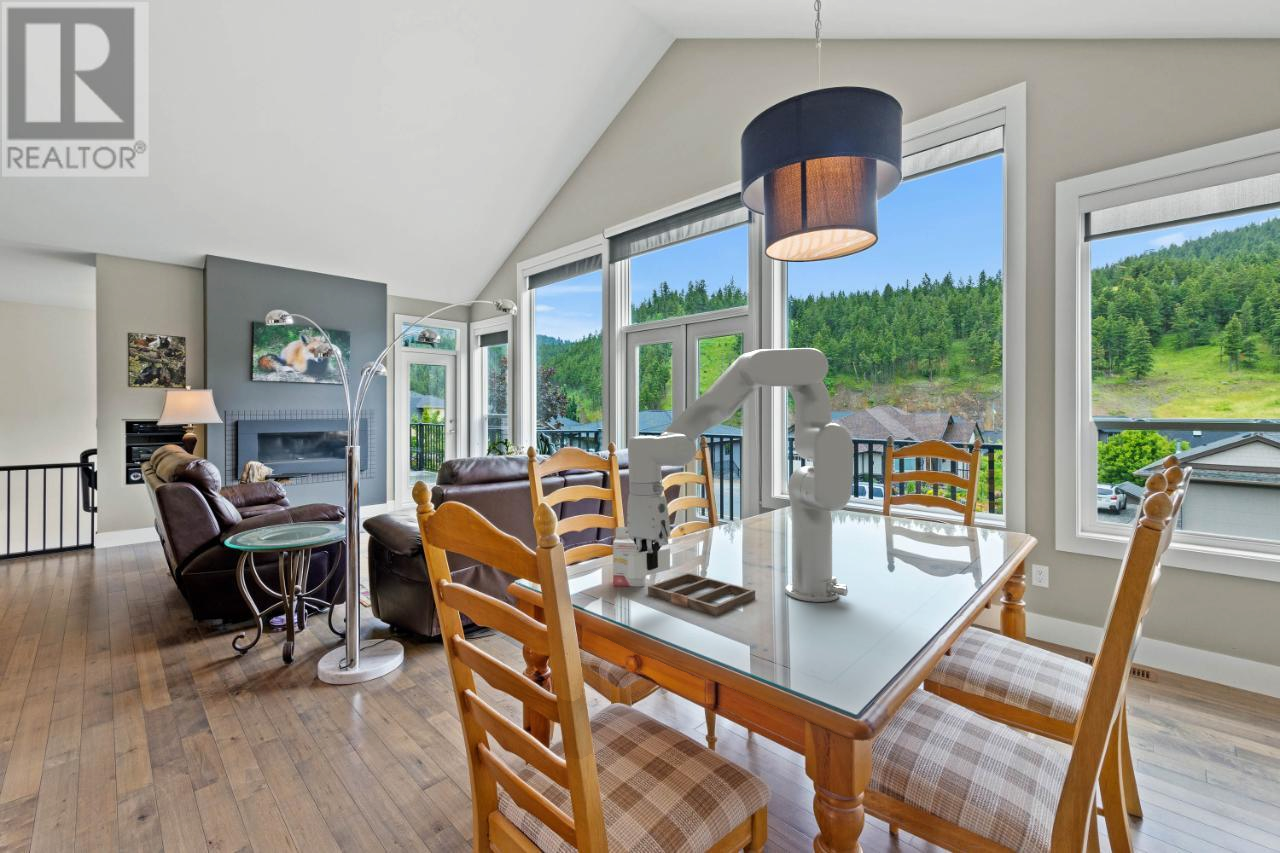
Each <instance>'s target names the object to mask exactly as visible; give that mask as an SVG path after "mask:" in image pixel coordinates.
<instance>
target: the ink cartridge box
mask: <svg viewBox="0 0 1280 853" xmlns="http://www.w3.org/2000/svg"><path fill="white" fill-rule="evenodd" d="M626 532H628V529H627V526H616V527H615V538H614V540H613V542H612V543H613V544H612V584H613V585H614V586H617V587H641V586H644V587H646V583H647V575H646V576H643V577H639V578H635V579H633V578H629V577H628V555H630V554H634V553H639V551H638V550H637V546H636V544H635V543H634V541H633V540H631V539H630V538H629V537H628V535H629V533H626ZM613 585H612V586H613Z"/></svg>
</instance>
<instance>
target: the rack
mask: <svg viewBox="0 0 1280 853" xmlns="http://www.w3.org/2000/svg"><path fill="white" fill-rule="evenodd" d="M687 582H690V583H691V584H688V585H685V586H683V587H679V588H677V589H674V590H671V591H669V590H667V589H670V588H674V587H677V586H680V585H682V584H685V583H687ZM665 589H666V590H665ZM728 594H733V595H736V596H734V597H731V598H729V599H727V600H724V601H722V602H719V603H717V604H712V603H709V602H711V601H714V600H717V599H719V598H722V597H725V596H726V595H728ZM647 595H648V596H652V597H656V598H659V599H662V600H665V601H668V602H670V603H672V604H676V605H679V606H682V607H685V608H690V609H693V610H696V611H699V612H702V613H705V614H709V615H712V616H715V617H716V616H719V615H721V614H724V613H726V612H728V611H730V610H733V609H735V608H737V607H739V606H741V605H744V604H746V603H749V602H750V601H753V600H755V599H756V590H755V589H751V588H748V587H745V586H741V585H737V584H732V583H728V582H725V581H721V580H718V579H714V578H710V577H705V576H704V575H699V574H696V573H691V572H687V573H683V574H680V575H677V576H674V577H670V578H668V579H666V580H662V581H660V582H657V583H654V584H651V585H648V586H647Z"/></svg>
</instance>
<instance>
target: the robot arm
mask: <svg viewBox="0 0 1280 853" xmlns="http://www.w3.org/2000/svg"><path fill="white" fill-rule="evenodd" d="M828 372H829V361H828V358H827V357H826V355H825V354H824V353H823V352H822V351H821V350H819V349H816V348H813V347H801V348H800V347H799V348H780V349H779V348H773V349H772V348H771V349H770V348H769V349H768V348H767V349H766V348H764V349H757V350H753V351H750V352H746V353H743V354H741V355H739V356H738V357H737V358H736V359H734V361H733V362H732V363H731V364H730V365H729V366H728V367H727V368H726V370H724V372H723V373H722V374H721V375H720V376H719V377H718V378H717V379H716V380H715V381H714V383H712V384H711V385H710V387H708V389H706V391H704V392H703V394H702V395H700V396H699V397H698V398H697V399H695V400H694V401H693V403H691V404H690V405H689V406H688V407H686V408H685V410H683V411H682V412H681V413H680V414H678V416H677V417H676V418H674V420H673V421H671V423H670V424H669V425H668V426H667V427H666V428H665V429H664V430H663V431H662V432H661V433H660V435H658V436H656V435H633V436H631V437H629V439H628V442H627V455H628V479H629V480H628V481H629V482H628V483H629V485H628V486H629V494H628V498H627V507H626V508H627V509H626V527H627V529H628V531H627V532H628V533H627V534H629V535H628V537H629V538H630V539H631V540H633V541H634V543H635V544H636V546H637V550H638V551H639V552H645V551H648V553H646V554H647V570H653V569H655V568H658V551H659V550H660V548H661V547H662V546H663V547H664V546H666V545H669V537H670V535H671V524H670V513H669V507H668V503H667V502H668V501H667V498H666V495H665V494H663V492H664V491H665V486H664V485H663V483H662V482H663V481H662V480H663V479H662V478H663V477H662V466H665V467H666V466H667V467H668V466H669V467H684V466H688V465H689V464H690V463H692V462H693V461H694V460H695V459H696V455H697V451H698V450H697V445H696V443H695V441H696V440H697V439H698V438H699V437H701V436H702V435H703V434H704V433H706V432H707V431H709V430H711V429H712V428H714V427H717V426H719V425H722V424H723V423H724V422H727V421H728V420H729V419H730V418H732V417H733V415H734V414H735V413H736V412H737V411H738V410H739V409H740V408H741V407H742V406H743V405H744V404H745V403H746V401H747V400H748V399H750V397H751V396H752V395H753V394H754V393H755V392H756V391H757V390H758V389H759V388H763V387H785V388H786V389H787V391H789V393H790V396H791V397H792V399H793V403H794V404H793V405H794V449H795V453H796V454H797V455H798V456H799V457H800V458H801V459H804V460H807V461H810V462H813V465H805V466H800V467H799V468H797V469H795V470H794V471H793V472H792V474H791V475H790V477H789V480H788V486H787V488H788V490H787V491H788V497H789V504H790V510H791V511H790V512H791V582H790V583H789V584H787V585H785V593H786V594H787V595H788V596H789V597H791V598H794V599H796V600H800V601H805V602H811V601H812V602H813V603H824V602H826V603H827V602H831V601H834V600H837V599H838V598H839V597H840V596H843V597H847V595H848V592H849V590H848V586H847V585H846V584H840V583H838V582H837V576H833V520H832V514H831V512H837V511H840V510H842V509H844V508H845V507H846V506H847V505H848V503H849V501H850V500H851V498H852V493H853V485H854V484H853V482H854V481H853V480H854V444H853V440H852V437H851V435H850V433H849V431H848V430H847V429H846V428H845V427H844V426H842V425H840V424H838V423H835V422H832V403H831V396H830V391H829V390H828V387H827V386H826V384H825V383H824V381H823V380H824V379H825V378H826V376H827V374H828Z"/></svg>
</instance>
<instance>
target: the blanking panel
mask: <svg viewBox="0 0 1280 853" xmlns="http://www.w3.org/2000/svg"><path fill="white" fill-rule="evenodd" d="M646 553H648V551H645V552H639V553H634V554H630V555H628V577H629V578H633V579H635V578H639V577H643V576H646V577H647V576H649V575H654V574H657V573H661V572H664V571H668V570H670V569H671V548H669V547H665V546H663V547H662V546H661V548H660V550H659V551H658V568H655V569H653V570H647V554H646Z"/></svg>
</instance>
